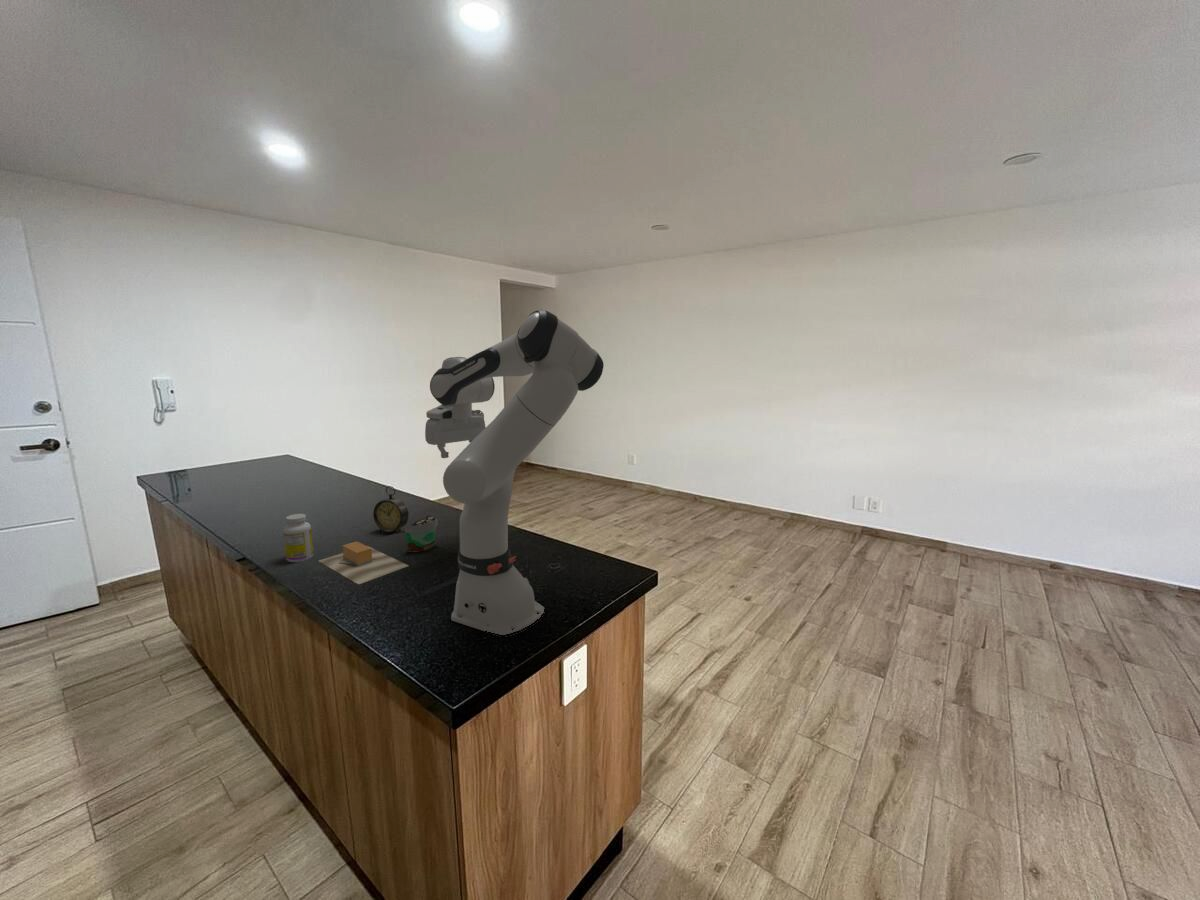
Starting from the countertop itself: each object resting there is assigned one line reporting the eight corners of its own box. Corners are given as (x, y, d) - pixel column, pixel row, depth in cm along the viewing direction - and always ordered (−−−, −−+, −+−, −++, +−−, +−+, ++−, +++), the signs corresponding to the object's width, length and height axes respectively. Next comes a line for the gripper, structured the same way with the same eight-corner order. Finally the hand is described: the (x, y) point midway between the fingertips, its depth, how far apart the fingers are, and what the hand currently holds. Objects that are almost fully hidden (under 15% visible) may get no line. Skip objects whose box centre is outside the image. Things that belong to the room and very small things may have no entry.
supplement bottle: (302, 552, 136) (298, 511, 133) (319, 555, 134) (315, 514, 131) (280, 561, 129) (276, 518, 127) (297, 564, 127) (293, 521, 125)
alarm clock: (373, 533, 152) (370, 486, 149) (384, 527, 157) (382, 482, 154) (401, 537, 150) (399, 489, 147) (412, 531, 155) (410, 485, 152)
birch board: (409, 570, 126) (409, 565, 126) (359, 589, 115) (358, 584, 115) (367, 550, 138) (367, 545, 138) (318, 565, 127) (317, 560, 127)
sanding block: (372, 561, 127) (371, 548, 127) (358, 566, 124) (357, 552, 124) (357, 554, 132) (356, 541, 131) (343, 558, 129) (342, 545, 128)
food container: (424, 560, 133) (423, 528, 131) (405, 558, 134) (404, 526, 132) (446, 544, 145) (445, 515, 143) (429, 542, 146) (428, 513, 144)
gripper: (477, 408, 148) (477, 449, 151) (421, 412, 132) (422, 458, 134) (490, 410, 145) (490, 452, 147) (434, 414, 128) (435, 462, 131)
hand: (457, 455), depth 141 cm, fingers open, 8 cm apart
